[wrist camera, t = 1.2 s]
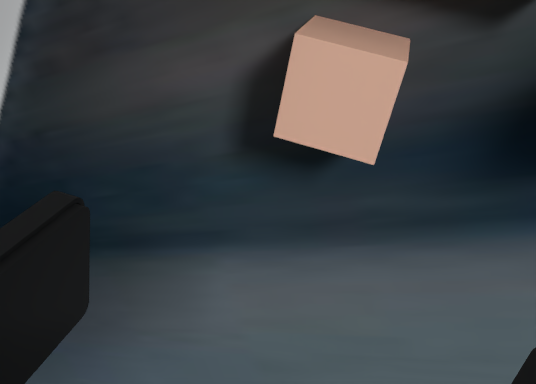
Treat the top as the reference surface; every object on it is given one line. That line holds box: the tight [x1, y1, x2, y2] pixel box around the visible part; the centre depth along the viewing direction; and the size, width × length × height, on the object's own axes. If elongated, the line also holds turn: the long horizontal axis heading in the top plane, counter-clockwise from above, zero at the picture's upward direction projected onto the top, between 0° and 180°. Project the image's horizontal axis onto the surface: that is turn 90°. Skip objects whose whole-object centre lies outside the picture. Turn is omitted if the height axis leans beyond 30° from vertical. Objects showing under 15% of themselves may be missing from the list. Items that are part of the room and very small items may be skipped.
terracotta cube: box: [274, 15, 410, 165], centre depth 30 cm, size 6×6×6 cm
